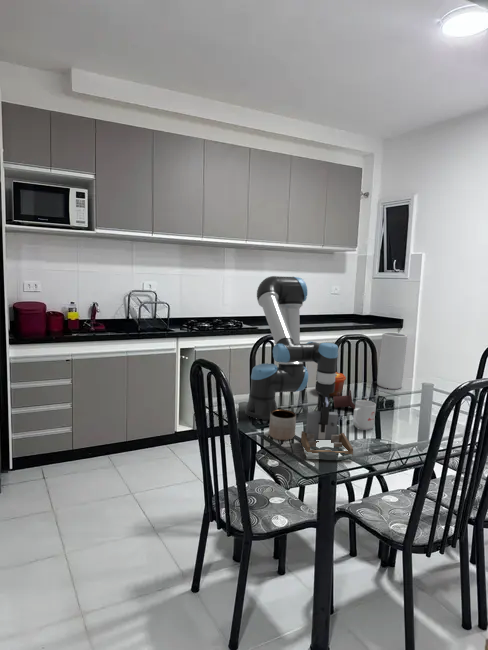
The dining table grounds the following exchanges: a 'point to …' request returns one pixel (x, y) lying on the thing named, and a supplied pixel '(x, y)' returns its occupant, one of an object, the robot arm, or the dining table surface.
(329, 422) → the door
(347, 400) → the bracket
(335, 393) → the food container
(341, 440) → the carcass
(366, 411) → the mug
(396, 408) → the dining table surface
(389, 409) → the dining table surface
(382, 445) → the dining table surface
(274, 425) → the planter
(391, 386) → the vase
